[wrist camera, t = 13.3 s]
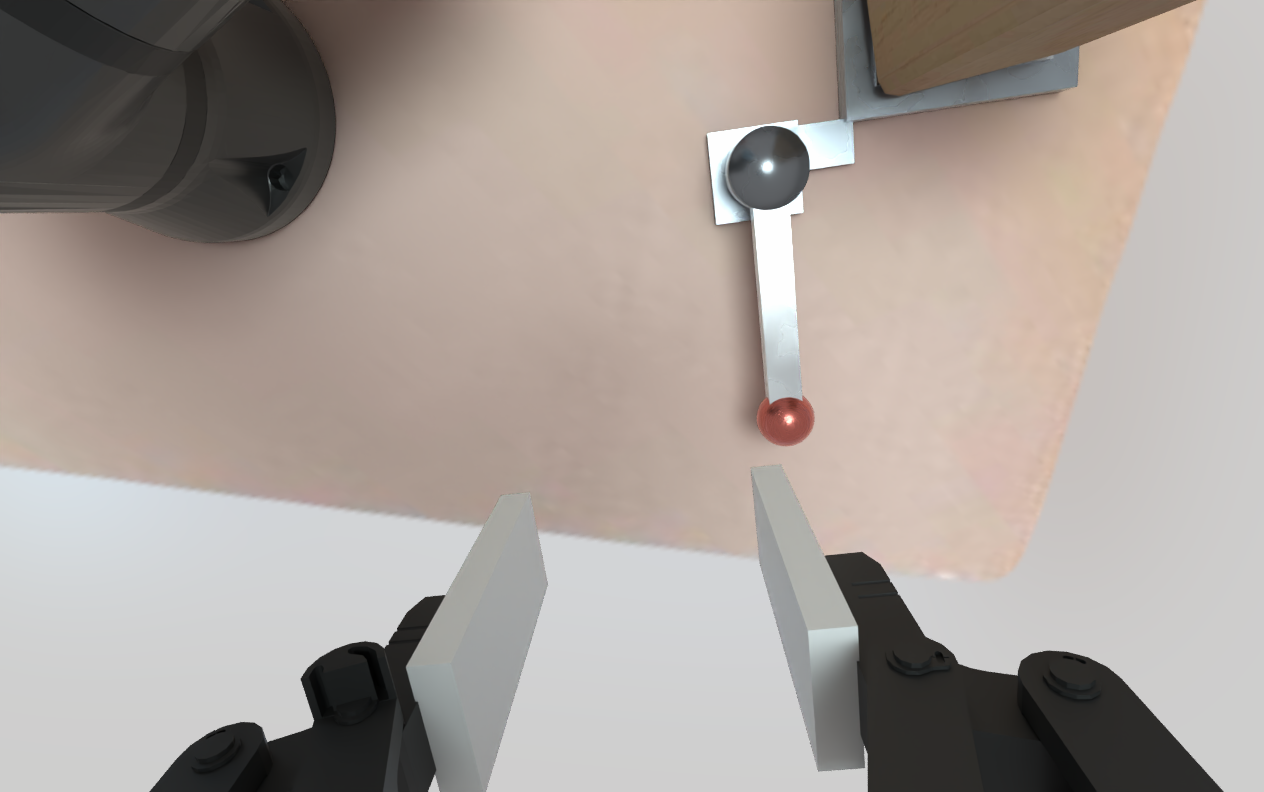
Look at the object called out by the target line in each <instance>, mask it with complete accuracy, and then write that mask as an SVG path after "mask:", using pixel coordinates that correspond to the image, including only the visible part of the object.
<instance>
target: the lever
mask: <svg viewBox="0 0 1264 792" xmlns="http://www.w3.org/2000/svg"><path fill="white" fill-rule="evenodd" d="M809 172H810V159H809V154H808V151H807V148H806V146H805V144H804V143H803V141H802V140H801V139H800V137H799V136H798V135H796V134H795V133H794V132H792V131H791V130H789V129H787V128H784V127H781V126H773V125H771V126H763V127H760V128H757V129H755V130H753V131H751V132H749V133H748V134H747V135H745V136H744V137H743V138H742V139H741V140H740V141H739V142H737V144H736V145H735V146H734V147H733V149H732V150H731V152H730V154H729V156H728V159H727V163H726V169H725V177H726V182H727V186H728V188H729V191H730V192H731V194H732V196H733V197H734V198H735V199H736V200H737V201H738V202H739V203H741V204H742V205H744V206H745V207H748V208H750V215H751V227H752V239H753V251H754V263H755V275H756V286H757V298H758V310H759V322H760V334H761V346H762V358H763V369H764V381H765V393H766V398H765V399H764V400H763V401H762V402H761V404H760V406H759V408H758V412H757V424H758V428H759V430H760V432H761V433H762V435H763V436H764V437H765V438H766V439H767V440H768V441H770V442H771V443H773V444H776V445H780V446H792V445H796V444H798V443H800V442H802V441H803V440H804V439H806V438H807V437H808V435H809V434H810V432H811V431H812V428H813V425H814V411H813V408H812V406H811V404H810V403H809V401H808V400H807V399H806V398H805V397H804V396H803V395H802V385H801V371H800V356H799V341H798V327H797V312H796V298H795V283H794V268H793V254H792V239H791V224H790V210H789V203H791V202H792V201H793V200H795V199H796V198H797V197H798V196H799V194H800V193H801V192H802V190H803V189H804V187H805V185H806V183H807V180H808V177H809Z"/></svg>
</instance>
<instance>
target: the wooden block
mask: <svg viewBox="0 0 1264 792" xmlns="http://www.w3.org/2000/svg"><path fill="white" fill-rule="evenodd" d="M1193 1H1196V0H867V4H868V11H869V19H870V26H871V33H872V41H873V48H874V56H875V63H876V70H877V78H878V82H879V83H880V85H881V87H882V89H883V91H884V93H885V94H891V95H898V96H902V95H905V94H909V93H913V92H917V91H920V90H924V89H928V88H932V87H935V86H939V85H943V84H947V83H950V82H954V81H958V80H961V79H965V78H969V77H973V76H976V75H980V74H984V73H988V72H991V71H995V70H999V69H1003V68H1006V67H1010V66H1014V65H1018V64H1021V63H1025V62H1029V61H1033V60H1036V59H1040V58H1044V57H1048V56H1051V55H1055V54H1059V53H1062V52H1065V51H1067V50H1070V49H1072V48H1075V47H1077V46H1080V45H1083V44H1085V43H1088V42H1090V41H1093V40H1095V39H1098V38H1101V37H1103V36H1106V35H1108V34H1111V33H1113V32H1116V31H1119V30H1121V29H1124V28H1126V27H1129V26H1131V25H1134V24H1137V23H1139V22H1142V21H1144V20H1147V19H1149V18H1152V17H1155V16H1157V15H1160V14H1162V13H1165V12H1167V11H1170V10H1173V9H1175V8H1178V7H1180V6H1183V5H1185V4H1188V3H1191V2H1193Z"/></svg>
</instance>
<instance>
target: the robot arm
mask: <svg viewBox="0 0 1264 792" xmlns="http://www.w3.org/2000/svg"><path fill="white" fill-rule="evenodd" d="M334 141H335V109H334V102H333V96H332V91H331V87H330V83H329V79H328V76H327V73H326V70H325V67H324V65H323V62H322V60H321V58H320V55H319V53H318V51H317V49H316V47H315V45H314V44H313V42H312V40H311V38H310V37H309V35H308V34H307V32H306V31H305V29H304V27H303V26H302V25H301V23H300V22H299V21H298V19H297V18H296V17H295V16H294V15H293V13H292V12H291V11H290V10H289V9H288V8H287V7H286V6H285V5H284V4H283V3H282V2H281V1H280V0H0V213H88V212H105V213H108V214H110V215H113V216H115V217H118V218H121V219H123V220H126V221H128V222H131V223H133V224H136V225H139V226H141V227H144V228H146V229H149V230H152V231H154V232H157V233H160V234H162V235H165V236H169V237H172V238H176V239H181V240H186V241H193V242H203V243H218V242H232V241H243V240H250V239H254V238H258V237H262V236H265V235H267V234H270V233H272V232H274V231H276V230H278V229H280V228H282V227H284V226H285V225H287V224H288V223H290V222H291V221H292V220H294V219H295V218H296V217H297V216H298V215H299V214H300V213H301V212H302V211H303V210H304V209H305V208H306V207H307V206H308V205H309V204H310V202H311V201H312V200H313V198H314V197H315V195H316V194H317V192H318V191H319V189H320V187H321V185H322V183H323V181H324V179H325V177H326V174H327V171H328V169H329V165H330V162H331V158H332V153H333V148H334ZM751 476H752V487H753V497H754V508H755V519H756V529H757V540H758V550H759V561H760V566H761V570H762V573H763V577H764V580H765V584H766V587H767V591H768V594H769V598H770V602H771V605H772V609H773V612H774V616H775V619H776V623H777V627H778V630H779V634H780V637H781V641H782V644H783V648H784V651H785V655H786V658H787V662H788V666H789V669H790V673H791V676H792V679H793V683H794V687H795V690H796V694H797V698H798V701H799V705H800V708H801V712H802V715H803V719H804V722H805V726H806V730H807V733H808V736H809V740H810V744H811V747H812V751H813V754H814V757H815V761H816V765H817V769H818V771H831V770H845V769H858V768H865V761H864V746H865V748H866V751H867V753H868V792H1223V791H1222V789H1221V788H1220V787H1219V786H1218V785H1217V784H1216V783H1215V782H1214V781H1213V779H1212V778H1211V777H1210V776H1209V775H1208V774H1207V773H1206V772H1205V771H1204V769H1202V767H1201V766H1200V765H1199V764H1198V763H1197V762H1196V761H1195V760H1194V758H1192V756H1191V755H1190V754H1189V753H1188V752H1187V751H1186V750H1185V749H1184V747H1183V746H1182V745H1181V744H1180V743H1179V742H1178V741H1177V740H1176V738H1175V737H1174V736H1173V735H1172V734H1171V733H1170V732H1169V731H1168V730H1167V729H1166V727H1165V726H1164V725H1163V724H1162V723H1161V722H1160V721H1159V720H1158V719H1157V718H1156V716H1154V714H1153V713H1152V712H1151V711H1150V710H1149V709H1148V708H1147V706H1146V705H1145V704H1144V703H1143V702H1142V701H1141V700H1140V699H1139V697H1138V696H1136V694H1135V693H1134V692H1133V691H1132V690H1131V689H1130V688H1129V687H1128V685H1127V684H1126V683H1125V682H1124V681H1123V680H1122V679H1121V678H1120V677H1119V676H1118V675H1116V674H1115V673H1114V672H1113V671H1111V670H1110V669H1109V668H1108V667H1106V666H1104V665H1102V664H1100V663H1098V662H1096V661H1094V660H1092V659H1090V658H1088V657H1084V656H1080V655H1077V654H1073V653H1069V652H1059V651H1043V652H1038V653H1033V654H1030V655H1029V656H1028V657H1026V658H1025V659H1023V660H1022V661H1021V663H1020V666H1019V670H1018V676H1017V675H1009V674H1001V673H995V672H987V671H982V670H977V669H972V668H969V667H966V666H963V665H960V664H958V662H957V660H956V658H955V656H954V654H953V653H952V652H950V651H949V650H948V649H947V648H946V647H945V646H943V645H942V644H940V643H938V642H936V641H933V640H931V639H929V638H927V637H925V636H924V634H923V632H922V631H921V629H920V627H919V626H918V624H917V622H916V621H915V619H914V618H913V616H912V614H911V613H910V611H909V610H908V608H907V606H906V605H905V603H904V602H903V600H902V599H901V597H900V596H899V595H898V592H897V590H896V589H895V587H894V586H893V584H892V582H890V579H889V577H888V576H887V574H886V573H885V571H884V569H883V568H882V566H881V564H879V563H878V562H876V561H875V560H873V559H872V558H870V557H869V556H867V555H866V554H864V553H863V552H857V553H847V554H837V555H827V556H824V554H823V552H822V550H821V548H820V545H819V543H818V541H817V539H816V537H815V535H814V533H813V531H812V529H811V526H810V524H809V522H808V520H807V518H806V516H805V514H804V512H803V510H802V507H801V505H800V503H799V501H798V499H797V497H796V495H795V493H794V491H793V488H792V486H791V484H790V482H789V480H788V478H787V476H786V474H785V472H784V470H783V467H782V465H781V464H779V465H770V466H761V467H752V468H751ZM547 585H548V583H547V578H546V573H545V568H544V563H543V557H542V553H541V547H540V542H539V537H538V532H537V527H536V522H535V517H534V511H533V506H532V501H531V496H530V492H527V493H518V494H508V495H501V497H500V498H499V500H498V502H497V504H496V506H495V507H494V509H493V511H492V513H491V515H490V516H489V518H488V520H487V522H486V524H485V525H484V527H483V529H482V531H481V533H480V534H479V536H478V538H477V540H476V542H475V544H474V545H473V547H472V549H471V551H470V552H469V554H468V556H467V558H466V560H465V561H464V563H463V565H462V567H461V569H460V571H459V572H458V574H457V576H456V578H455V580H454V581H453V583H452V585H451V587H450V588H449V591H448V592H447V594H446V595H442V596H433V597H425V598H424V599H423V600H421V601H420V602H419V603H418V604H417V605H415V606H414V607H413V608H412V609H411V610H409V611H408V612H407V613H406V615H405V617H404V618H403V620H402V622H401V623H400V625H399V626H398V628H397V632H395V633H394V634H393V636H392V637H391V639H390V641H389V645H387V646H386V647H385V649H384V648H383V647H382V646H380V645H379V644H377V643H373V642H366V641H365V642H358V643H352V644H348V645H345V646H342V647H339V648H337V649H334V650H332V651H331V652H329V653H327V654H326V655H324V656H322V657H320V658H319V659H318V660H316V661H315V662H314V663H313V664H312V665H311V666H310V667H308V668H307V670H306V671H305V673H304V674H303V676H302V678H301V681H302V685H303V688H304V691H305V694H306V697H307V700H308V703H309V706H310V709H311V712H312V715H313V718H314V723H313V727H312V728H309V729H307V730H304V731H301V732H298V733H295V734H292V735H288V736H285V737H282V738H279V739H276V740H273V741H269V742H267V740H266V738H265V735H264V732H263V729H262V727H260V726H259V725H257V724H255V723H250V722H240V723H236V724H232V725H228V726H225V727H222V728H219V729H217V730H216V731H215V730H214V731H213V732H211V733H208V734H207V735H206V736H204V737H202V738H201V739H199V740H198V741H196V742H195V743H193V744H192V745H190V746H189V747H188V748H187V749H186V751H184V752H183V753H182V754H181V755H180V756H179V757H178V758H177V759H176V760H175V762H174V763H173V764H172V765H171V767H170V768H169V769H168V770H167V771H166V772H165V774H164V775H163V776H162V777H161V778H160V780H159V781H158V782H157V783H156V785H155V786H154V787H153V788H152V789H151V791H150V792H428V790H429V787H430V785H431V782H432V780H433V777H434V775H436V779H437V783H438V786H439V790H440V792H486V790H487V786H488V783H489V779H490V776H491V773H492V769H493V766H494V763H495V759H496V756H497V753H498V749H499V746H500V742H501V739H502V736H503V732H504V729H505V726H506V723H507V719H508V716H509V713H510V709H511V706H512V702H513V699H514V696H515V692H516V689H517V686H518V682H519V679H520V676H521V672H522V669H523V666H524V662H525V659H526V656H527V652H528V649H529V646H530V642H531V639H532V635H533V632H534V629H535V626H536V622H537V618H538V616H539V612H540V609H541V606H542V602H543V599H544V595H545V592H546V588H547Z"/></svg>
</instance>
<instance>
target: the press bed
mask: <svg viewBox="0 0 1264 792" xmlns="http://www.w3.org/2000/svg"><path fill="white" fill-rule="evenodd" d="M834 10H835V32H836V53H837V75H838V96H839V118H840V119H839V120H832V121H826V122H819V123H812V124H806V125H799V126H798V120H793V121H787V122H780V123H774V124H767V125H760V126H754V127H747V128H740V129H734V130H727V131H721V132H714V133H707V145H708V155H709V165H710V175H711V185H712V196H713V206H714V216H715V225H719V224H726V223H733V222H740V221H747V220H751V215H750V208H748V207H745V206H744V205H742V204H741V203H739V202H738V201H737V200H736V199H735V198H734V197H733V196H732V194H731V192H730V191H729V188H728V186H727V182H726V177H725V169H726V163H727V159H728V156H729V154H730V152H731V150H732V149H733V147H734V146H735V145H736V144H737V142H739V141H740V140H741V139H742V138H743V137H744V136H745V135H747V134H748V133H749V132H751V131H753V130H755V129H757V128H760V127H763V126H771V125H773V126H781V127H784V128H787V129H789V130H791V131H792V132H794V133H795V134H796V135H798V136H799V137H800V139H801V140H802V141H803V143H804V144H805V146H806V148H807V151H808V154H809V159H810V170H812V169H819V168H826V167H833V166H840V165H847V164H853V163H855V162H854V137H853V122H860V121H866V120H873V119H880V118H886V117H893V116H900V115H907V114H913V113H920V112H927V111H933V110H940V109H947V108H953V107H960V106H967V105H973V104H980V103H987V102H993V101H1000V100H1007V99H1014V98H1020V97H1027V96H1034V95H1040V94H1047V93H1054V92H1060V91H1064V90H1067V89H1071V88H1074V87H1077V84H1078V62H1079V46H1077V47H1075V48H1072V49H1070V50H1067V51H1065V52H1062V53H1059V54H1055V55H1051V56H1048V57H1044V58H1040V59H1036V60H1033V61H1029V62H1025V63H1021V64H1018V65H1014V66H1010V67H1006V68H1003V69H999V70H995V71H991V72H988V73H984V74H980V75H976V76H973V77H969V78H965V79H961V80H958V81H954V82H950V83H947V84H943V85H939V86H935V87H932V88H928V89H924V90H920V91H917V92H913V93H909V94H905V95H902V96H898V95H891V94H885V93H884V91H883V89H882V87H881V85H880V83H879V82H878V78H877V70H876V63H875V56H874V48H873V41H872V33H871V26H870V19H869V11H868V4H867V0H834ZM789 210H790V214H797V213H803V199H802V192H801V193H800V194H799V196H798V197H797V198H796V199H795V200H793V201H792V202H791V203H789Z"/></svg>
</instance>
